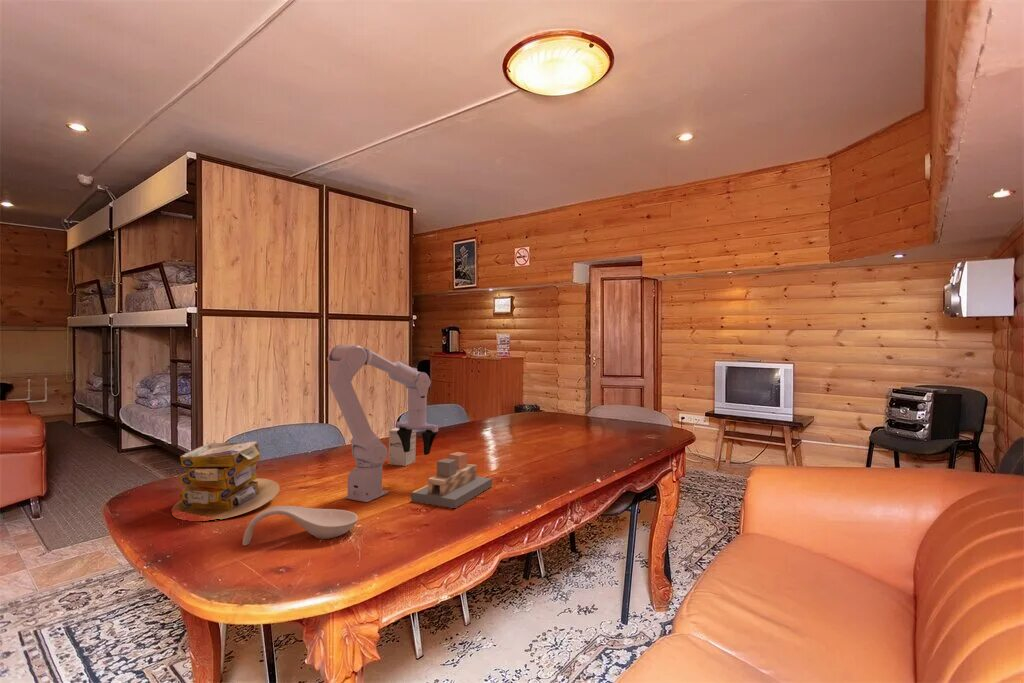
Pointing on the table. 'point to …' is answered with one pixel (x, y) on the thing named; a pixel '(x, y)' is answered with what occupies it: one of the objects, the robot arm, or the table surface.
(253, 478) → the stacked yellow boxes
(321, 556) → the table surface
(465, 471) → the tan piece
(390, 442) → the supplement box
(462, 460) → the salmon pink cube
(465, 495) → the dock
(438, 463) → the grey cube
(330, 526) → the spoon rest
